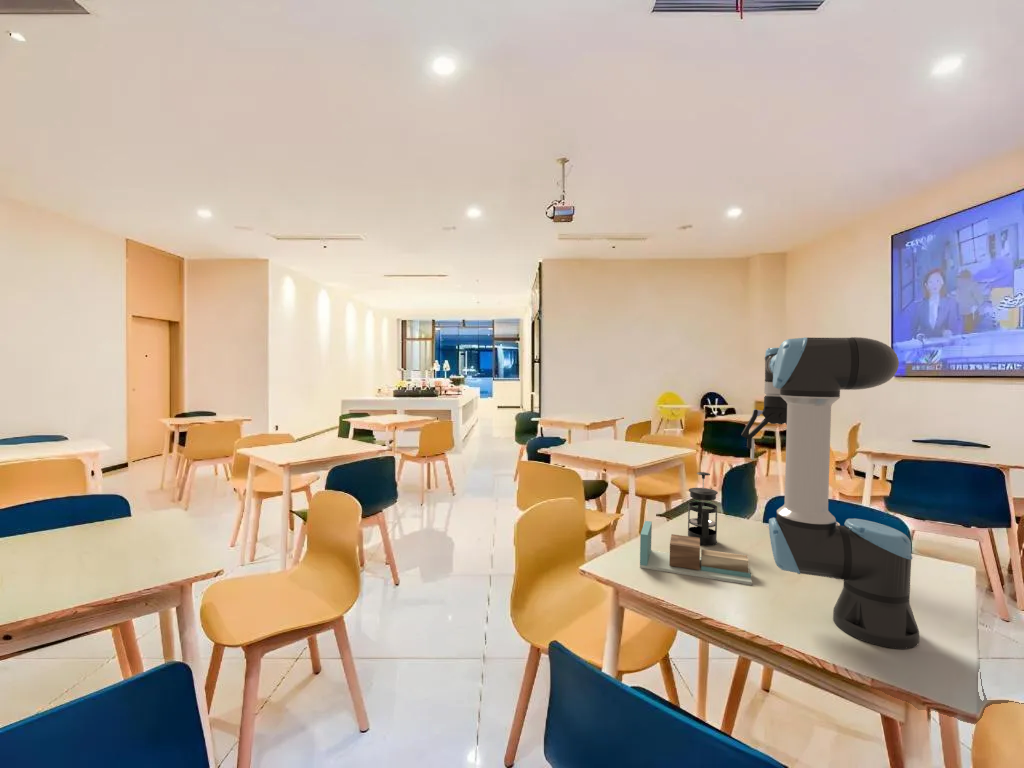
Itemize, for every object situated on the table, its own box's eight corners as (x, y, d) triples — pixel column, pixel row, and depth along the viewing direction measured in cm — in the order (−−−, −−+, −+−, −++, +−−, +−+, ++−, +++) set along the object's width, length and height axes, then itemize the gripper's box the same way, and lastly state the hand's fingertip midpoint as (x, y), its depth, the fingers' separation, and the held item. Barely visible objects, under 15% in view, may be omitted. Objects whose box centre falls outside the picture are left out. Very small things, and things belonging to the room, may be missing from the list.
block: (699, 570, 133) (699, 548, 133) (669, 565, 136) (669, 544, 136) (699, 558, 142) (699, 537, 142) (671, 554, 145) (671, 534, 144)
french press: (685, 534, 166) (686, 468, 165) (713, 536, 164) (715, 470, 163) (689, 546, 154) (691, 476, 154) (720, 549, 152) (722, 477, 152)
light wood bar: (748, 575, 131) (748, 560, 131) (701, 568, 136) (701, 554, 135) (746, 569, 135) (747, 555, 135) (701, 562, 139) (701, 549, 139)
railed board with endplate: (751, 585, 127) (752, 548, 127) (639, 567, 137) (640, 534, 137) (747, 566, 139) (747, 533, 139) (644, 551, 149) (645, 520, 149)
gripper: (819, 395, 154) (817, 461, 154) (734, 393, 163) (732, 455, 163) (825, 397, 147) (822, 465, 147) (735, 394, 156) (734, 459, 156)
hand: (775, 460), depth 155 cm, fingers open, 13 cm apart
